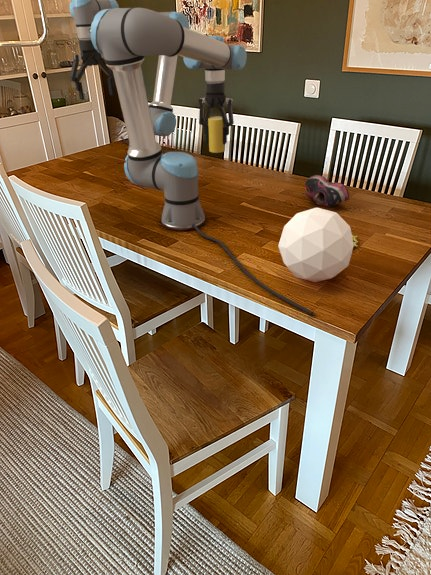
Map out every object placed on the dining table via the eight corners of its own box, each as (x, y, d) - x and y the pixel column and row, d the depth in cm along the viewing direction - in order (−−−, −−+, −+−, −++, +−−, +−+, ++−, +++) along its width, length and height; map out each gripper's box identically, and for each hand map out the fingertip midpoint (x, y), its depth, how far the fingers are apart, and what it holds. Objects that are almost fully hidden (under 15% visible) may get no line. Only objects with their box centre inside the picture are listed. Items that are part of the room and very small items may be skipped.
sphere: (322, 305, 122) (338, 279, 104) (262, 266, 127) (267, 235, 108) (357, 254, 127) (378, 220, 109) (298, 218, 132) (308, 180, 113)
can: (215, 147, 188) (215, 115, 181) (227, 150, 185) (227, 117, 178) (206, 151, 184) (204, 118, 177) (218, 153, 181) (217, 120, 174)
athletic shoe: (314, 174, 176) (289, 181, 172) (350, 168, 156) (323, 177, 152) (319, 202, 179) (295, 210, 175) (356, 200, 159) (329, 209, 155)
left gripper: (61, 41, 165) (72, 102, 176) (120, 37, 178) (127, 94, 189) (53, 41, 170) (65, 100, 181) (112, 37, 183) (119, 92, 194)
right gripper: (242, 80, 171) (241, 141, 183) (194, 80, 176) (197, 139, 188) (237, 83, 165) (237, 146, 177) (188, 83, 170) (191, 144, 182)
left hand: (97, 97), depth 185 cm, fingers open, 13 cm apart
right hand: (216, 142), depth 183 cm, fingers closed on can, 6 cm apart
